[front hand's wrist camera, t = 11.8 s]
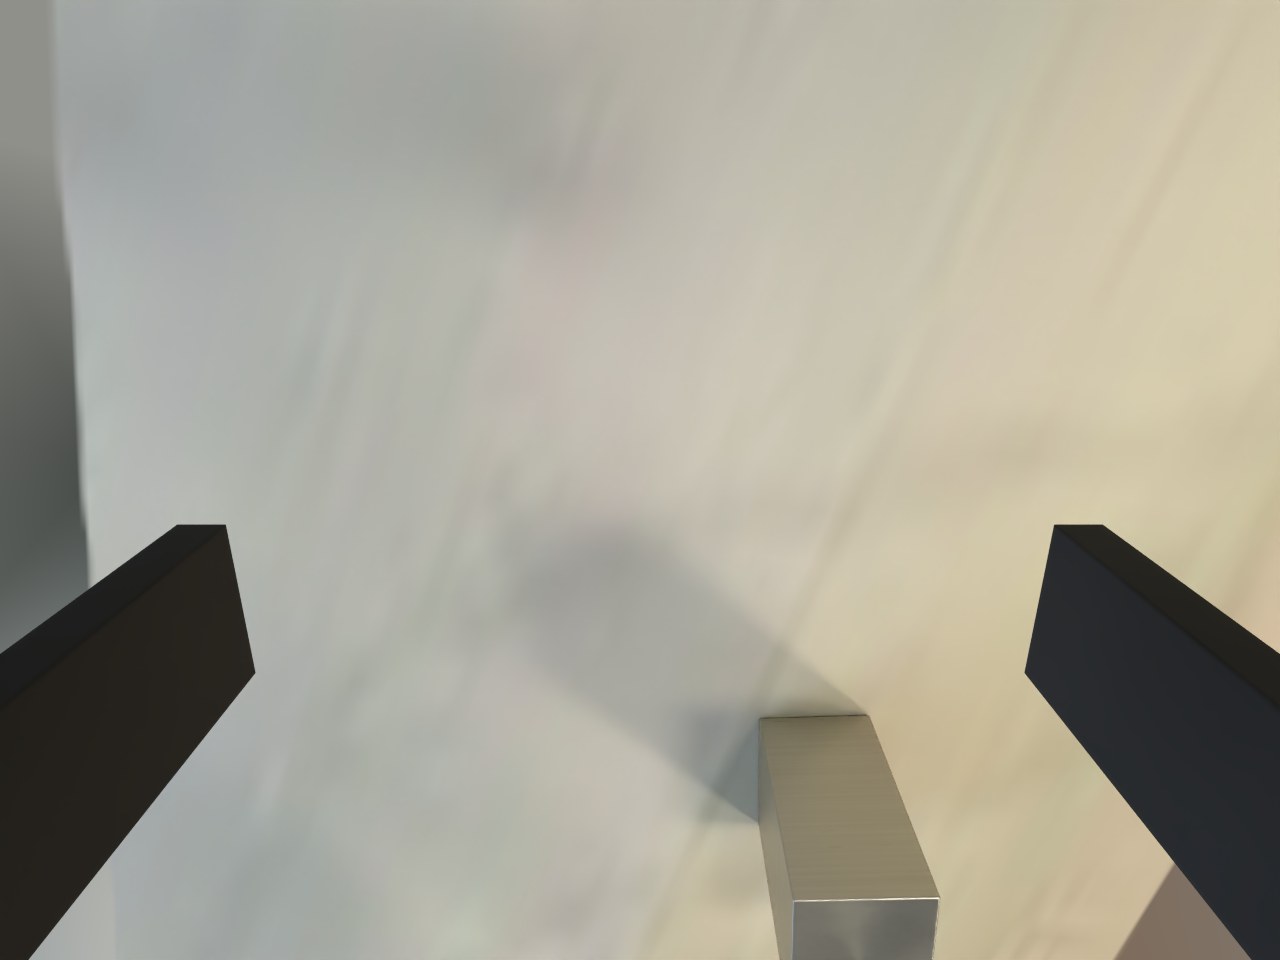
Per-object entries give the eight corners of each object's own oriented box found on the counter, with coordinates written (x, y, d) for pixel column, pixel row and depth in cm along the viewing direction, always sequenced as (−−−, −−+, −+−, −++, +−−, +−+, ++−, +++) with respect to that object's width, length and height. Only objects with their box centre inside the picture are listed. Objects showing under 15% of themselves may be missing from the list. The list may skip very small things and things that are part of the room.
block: (869, 714, 42) (941, 897, 31) (862, 822, 44) (926, 1025, 34) (758, 717, 42) (792, 900, 31) (758, 825, 44) (789, 1026, 34)
